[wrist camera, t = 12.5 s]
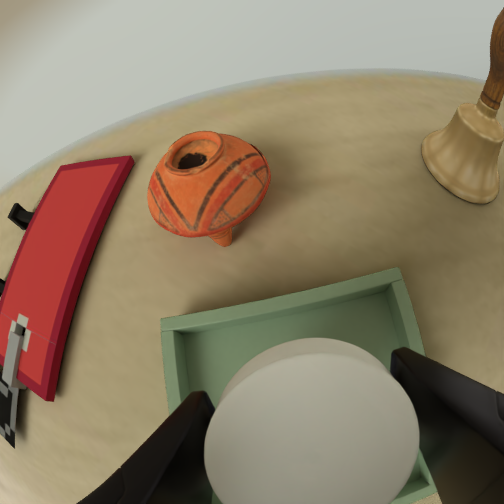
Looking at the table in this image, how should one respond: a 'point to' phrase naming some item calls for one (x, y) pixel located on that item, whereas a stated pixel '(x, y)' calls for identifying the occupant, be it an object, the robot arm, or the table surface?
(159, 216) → the pot
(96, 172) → the red board with handle
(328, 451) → the pill bottle
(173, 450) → the robot arm
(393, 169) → the table surface
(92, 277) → the table surface
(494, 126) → the hand bell
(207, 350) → the tray
